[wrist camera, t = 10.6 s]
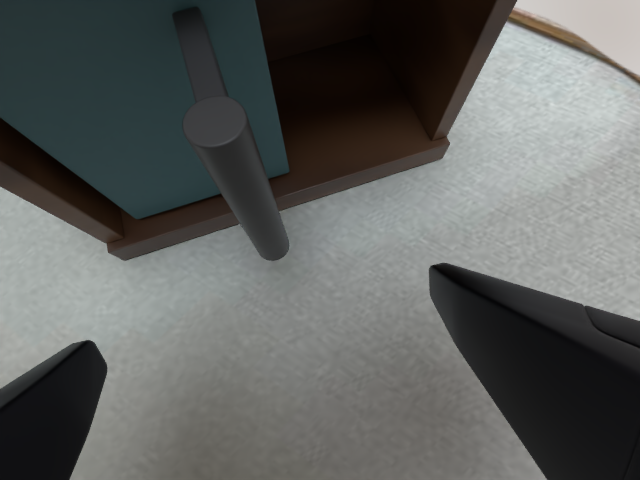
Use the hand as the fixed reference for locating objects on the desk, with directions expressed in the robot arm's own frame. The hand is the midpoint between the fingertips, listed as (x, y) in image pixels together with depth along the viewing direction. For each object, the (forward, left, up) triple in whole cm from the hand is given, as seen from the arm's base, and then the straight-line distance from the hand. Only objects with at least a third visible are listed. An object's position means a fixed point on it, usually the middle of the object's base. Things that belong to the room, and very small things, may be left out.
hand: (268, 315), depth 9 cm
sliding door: (+6, -2, -7) cm, 9 cm away
